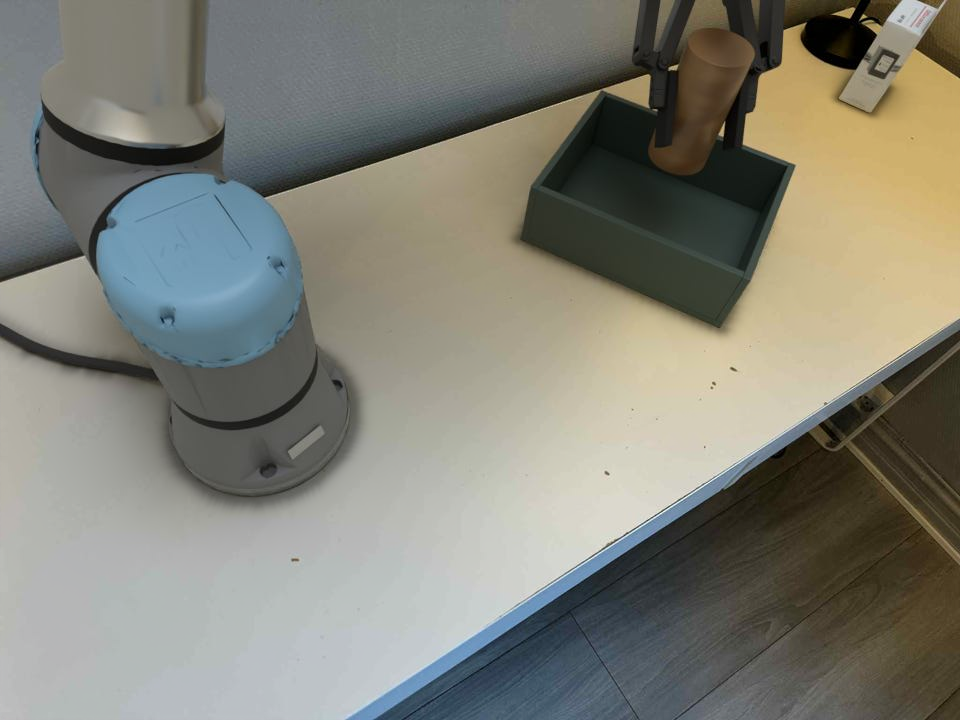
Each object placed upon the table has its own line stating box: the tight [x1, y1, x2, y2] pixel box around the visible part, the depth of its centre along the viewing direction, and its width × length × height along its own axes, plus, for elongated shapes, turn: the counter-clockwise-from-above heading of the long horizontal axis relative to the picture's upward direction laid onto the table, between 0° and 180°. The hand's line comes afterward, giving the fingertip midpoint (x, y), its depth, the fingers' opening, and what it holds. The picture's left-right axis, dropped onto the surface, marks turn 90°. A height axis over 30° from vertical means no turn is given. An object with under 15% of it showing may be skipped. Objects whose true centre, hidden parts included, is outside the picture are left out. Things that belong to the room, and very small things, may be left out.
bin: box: [520, 89, 797, 328], centre depth 74 cm, size 24×20×8 cm
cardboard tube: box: [648, 27, 755, 175], centre depth 63 cm, size 6×6×12 cm
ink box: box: [838, 0, 948, 113], centre depth 90 cm, size 8×5×15 cm, turn 143°
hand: (697, 147), depth 63 cm, fingers open, 6 cm apart
